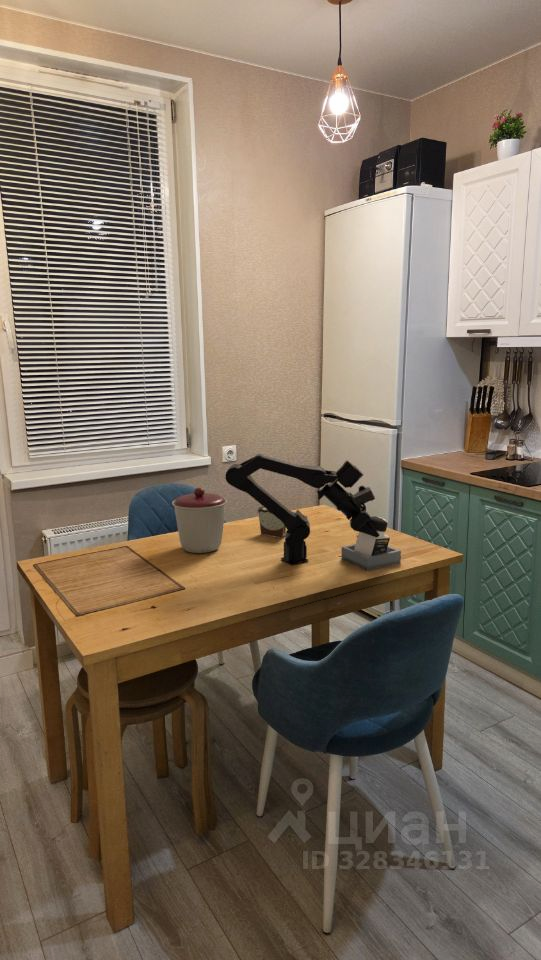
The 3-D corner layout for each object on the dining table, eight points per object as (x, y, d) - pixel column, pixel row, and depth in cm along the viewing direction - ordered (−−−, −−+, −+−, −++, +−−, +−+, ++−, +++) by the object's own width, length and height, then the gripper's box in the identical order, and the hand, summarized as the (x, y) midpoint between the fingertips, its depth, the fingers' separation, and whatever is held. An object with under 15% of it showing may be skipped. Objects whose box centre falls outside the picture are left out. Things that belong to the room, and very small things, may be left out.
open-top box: (367, 570, 185) (367, 558, 184) (341, 558, 196) (341, 546, 196) (400, 563, 192) (400, 550, 191) (373, 551, 203) (373, 540, 202)
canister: (166, 556, 201) (163, 493, 197) (184, 539, 218) (181, 481, 214) (220, 558, 198) (218, 494, 194) (233, 541, 215) (232, 482, 211)
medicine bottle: (370, 559, 189) (380, 522, 186) (353, 550, 194) (363, 514, 191) (384, 558, 193) (395, 522, 191) (367, 549, 199) (377, 514, 196)
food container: (295, 534, 223) (295, 507, 221) (286, 538, 218) (286, 511, 216) (266, 529, 230) (266, 503, 228) (257, 533, 224) (256, 507, 222)
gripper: (361, 486, 180) (399, 521, 181) (356, 473, 198) (390, 506, 200) (335, 513, 182) (373, 548, 183) (331, 498, 200) (366, 530, 202)
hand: (376, 531), depth 192 cm, fingers closed on medicine bottle, 9 cm apart
